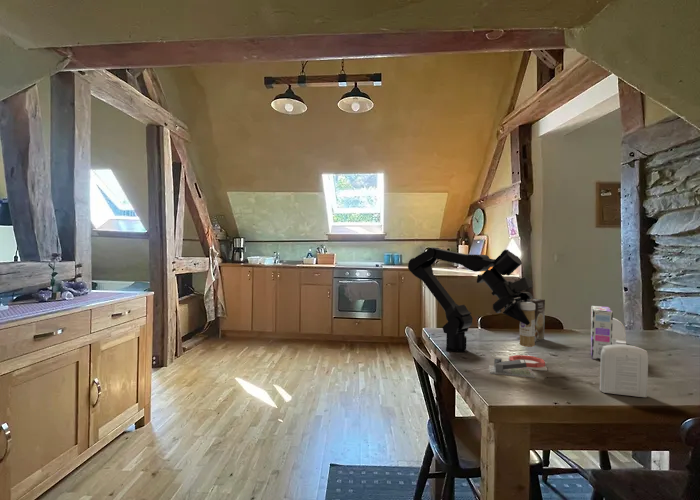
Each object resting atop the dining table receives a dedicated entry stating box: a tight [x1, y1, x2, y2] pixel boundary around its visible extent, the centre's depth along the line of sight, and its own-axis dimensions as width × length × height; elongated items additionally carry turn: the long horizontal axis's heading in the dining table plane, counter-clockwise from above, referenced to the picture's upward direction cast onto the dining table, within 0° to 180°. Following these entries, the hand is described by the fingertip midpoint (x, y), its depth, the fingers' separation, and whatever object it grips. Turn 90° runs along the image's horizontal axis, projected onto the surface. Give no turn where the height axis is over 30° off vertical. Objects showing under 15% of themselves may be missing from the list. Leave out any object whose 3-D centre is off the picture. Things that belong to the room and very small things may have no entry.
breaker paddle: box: [499, 359, 527, 369], centre depth 119 cm, size 1×4×8 cm
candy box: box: [590, 305, 614, 361], centre depth 139 cm, size 14×6×16 cm, turn 151°
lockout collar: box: [507, 354, 548, 371], centre depth 127 cm, size 10×10×2 cm
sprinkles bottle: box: [519, 302, 536, 348], centre depth 127 cm, size 5×5×14 cm
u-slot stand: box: [612, 317, 627, 345], centre depth 154 cm, size 10×18×11 cm, turn 148°
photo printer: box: [599, 344, 649, 398], centre depth 102 cm, size 10×4×12 cm, turn 72°
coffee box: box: [518, 298, 546, 342], centre depth 164 cm, size 9×6×16 cm
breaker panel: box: [488, 357, 536, 379], centre depth 119 cm, size 12×7×3 cm, turn 74°
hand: (531, 323), depth 126 cm, fingers closed on sprinkles bottle, 4 cm apart
